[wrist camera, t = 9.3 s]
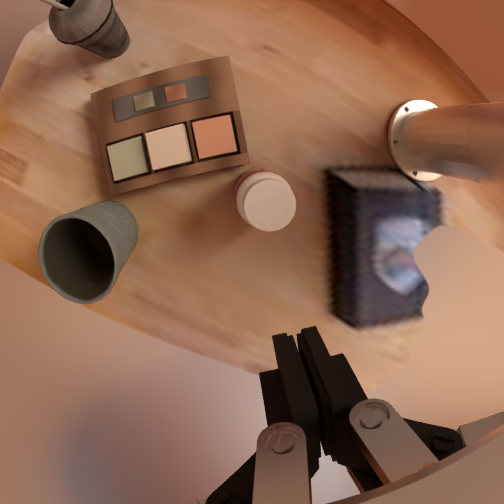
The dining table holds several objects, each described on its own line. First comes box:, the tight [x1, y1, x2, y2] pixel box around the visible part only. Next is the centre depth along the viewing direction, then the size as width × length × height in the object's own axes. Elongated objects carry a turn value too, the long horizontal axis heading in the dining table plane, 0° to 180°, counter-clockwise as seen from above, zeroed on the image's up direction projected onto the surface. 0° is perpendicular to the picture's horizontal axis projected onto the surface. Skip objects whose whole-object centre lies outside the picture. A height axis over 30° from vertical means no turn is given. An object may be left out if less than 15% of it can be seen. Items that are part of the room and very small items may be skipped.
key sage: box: [107, 136, 151, 181], centre depth 35 cm, size 4×4×2 cm
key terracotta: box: [192, 115, 237, 159], centre depth 35 cm, size 4×4×2 cm
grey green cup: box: [38, 201, 138, 304], centre depth 34 cm, size 10×10×12 cm
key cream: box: [145, 124, 192, 170], centre depth 34 cm, size 4×4×2 cm
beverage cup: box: [40, 0, 130, 58], centre depth 22 cm, size 7×7×20 cm
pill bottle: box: [234, 169, 296, 232], centre depth 35 cm, size 6×6×11 cm
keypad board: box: [91, 56, 250, 196], centre depth 35 cm, size 18×14×3 cm
